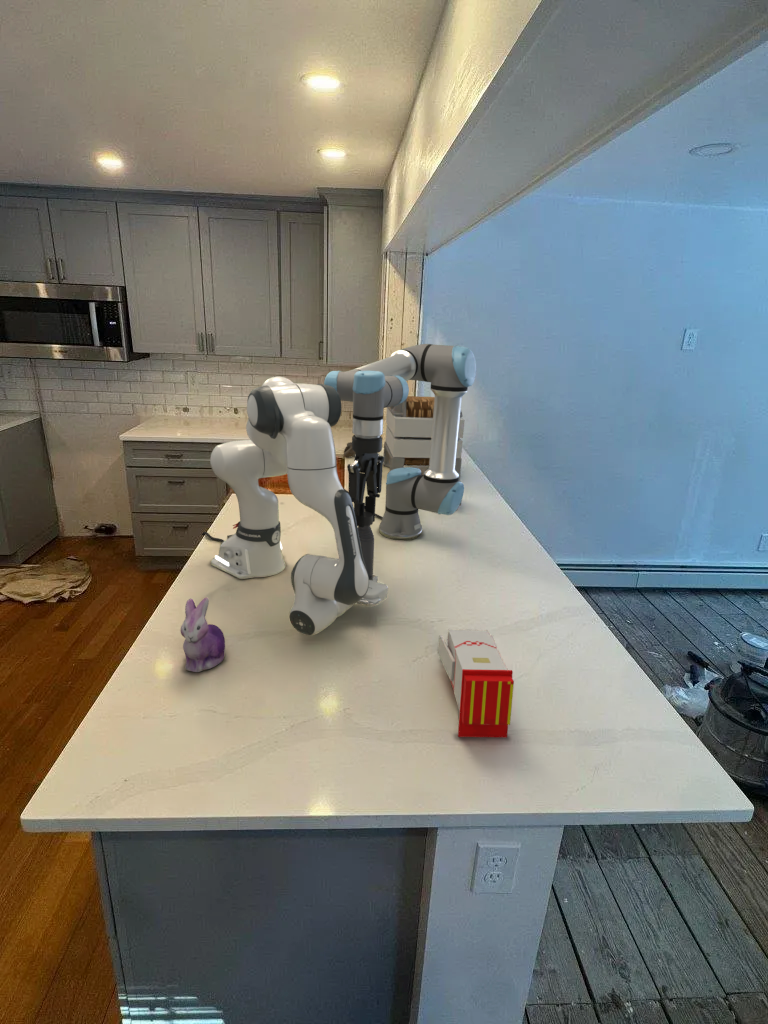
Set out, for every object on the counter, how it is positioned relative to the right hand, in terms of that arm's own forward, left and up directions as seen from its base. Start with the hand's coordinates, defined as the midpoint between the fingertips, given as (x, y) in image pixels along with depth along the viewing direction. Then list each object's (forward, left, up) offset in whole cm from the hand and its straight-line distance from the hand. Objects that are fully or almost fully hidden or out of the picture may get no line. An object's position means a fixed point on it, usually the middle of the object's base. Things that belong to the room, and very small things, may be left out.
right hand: (364, 523), depth 148 cm
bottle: (0, 0, -22) cm, 22 cm away
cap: (0, 0, +2) cm, 2 cm away
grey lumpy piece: (-127, +97, -22) cm, 161 cm away
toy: (+46, -8, -22) cm, 51 cm away
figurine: (+3, -46, -22) cm, 51 cm away
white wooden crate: (-81, +100, -22) cm, 130 cm away
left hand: (0, +1, -15) cm, 15 cm away
